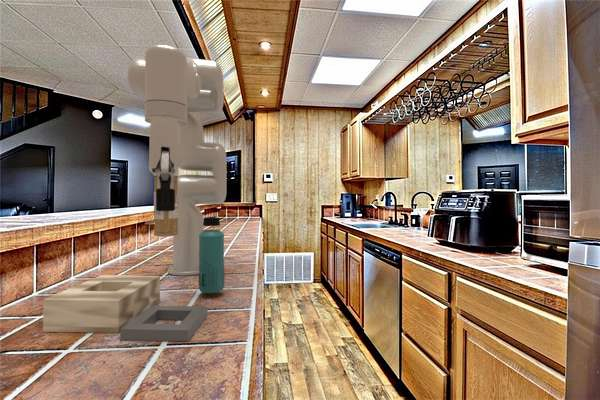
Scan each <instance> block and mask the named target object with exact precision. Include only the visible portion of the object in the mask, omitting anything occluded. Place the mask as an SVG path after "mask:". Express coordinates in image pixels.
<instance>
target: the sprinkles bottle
mask: <svg viewBox="0 0 600 400" xmlns="http://www.w3.org/2000/svg"><path fill="white" fill-rule="evenodd" d="M156 168H157V169H153V172H154V173H152V174H153V175H152V176H154V177H153V181H154V182H153V185H154V187H153V189H154V190H153V219H154V222H153V223H154V224H153V225H154V228H153V229H154V230H153V231H154V232H153V236H155V237H165V238H166V237H173V236H175V235H177V234H178V176H179V175H180V171H179V170H180V168H179V167H178V170H177V172H176V173H174V170H173V173H174V176H173V190H175V209H174V211H157V210H156V189H157V177H158V174H157V173H158V166H157V167H156ZM160 172H161V169H160ZM169 172H171V169H169Z"/></svg>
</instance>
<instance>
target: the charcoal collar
mask: <svg viewBox="0 0 600 400" xmlns="http://www.w3.org/2000/svg"><path fill="white" fill-rule="evenodd" d="M208 310H209V309H208V306H203V305H202V306H198V305H197V306H194V305H191V306H190V305H189V306H187V305H154V306H150V307H149V308H147V309H146V310H145V311H144V312H142V313H141V314H140V315H138V316H137V317H136V318H134V319H133V320H132V321H130V322H129V323H128V324H126V325H125V326H124V327H123V328H121V329H120V332H119V333H120V334H119V336H120V339H119V340H120V341H136V342H137V341H140V342H141V341H142V342H143V341H144V342H145V341H146V342H189V341H190V340H191V338H192V337H193V336H194V335H195V334H196V332H197V331H198V329H199V328H200V327H201V325H202V324H203V322H205V320H206V318H207V317H208V314H209V313H208ZM160 320H161V321H162V320H163V321H181V322H180V323H179V324H176V323H156V322H157V321H160Z"/></svg>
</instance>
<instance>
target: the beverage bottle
mask: <svg viewBox="0 0 600 400" xmlns="http://www.w3.org/2000/svg"><path fill="white" fill-rule="evenodd" d="M220 221H221V220H220V217H217V216H207V217H204V222H203V226H204V227H205V226H206V227H217V226H221V223H220ZM198 251H199V252H198V253H199V274H198V286H197V287H198V289H199V291H200V292H202V293H206V294H207V293H208V294H211V293H213V294H214V293H219V292H221V291H223V290H224V288H225V234H224V232H222V230H220V229H204V231H202V232H201V233H200V234H199V250H198Z"/></svg>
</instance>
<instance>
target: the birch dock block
mask: <svg viewBox="0 0 600 400" xmlns="http://www.w3.org/2000/svg"><path fill="white" fill-rule="evenodd" d="M160 301H161V275H131V274H130V275H125V274H123V275H121V274H117V275H116V274H114V275H113V274H100V275H98V276H96V277H94V278H92V279H89V280H87V281H84V282H82V283H79V284H76V285H75V286H72V287H70V288H68V289H65V290H63V291H61V292H58V293H56V294H53V295H50V296H49V297H45V298H44V299H42V323H43V324H42V325H43V326H42V332H45V333H47V332H48V333H49V332H50V333H99V334H100V333H107V334H109V333H111V334H119V333H120V329H121V328H123V327H124V326H125V325H126V324H128V323H129V322H130V321H132V320H133V319H134V318H136V317H137V316H138V315H140V314H141V313H142V312H144V311H145V310H146V309H147V308H149V307H150V306H156V304H158V303H160Z"/></svg>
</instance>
